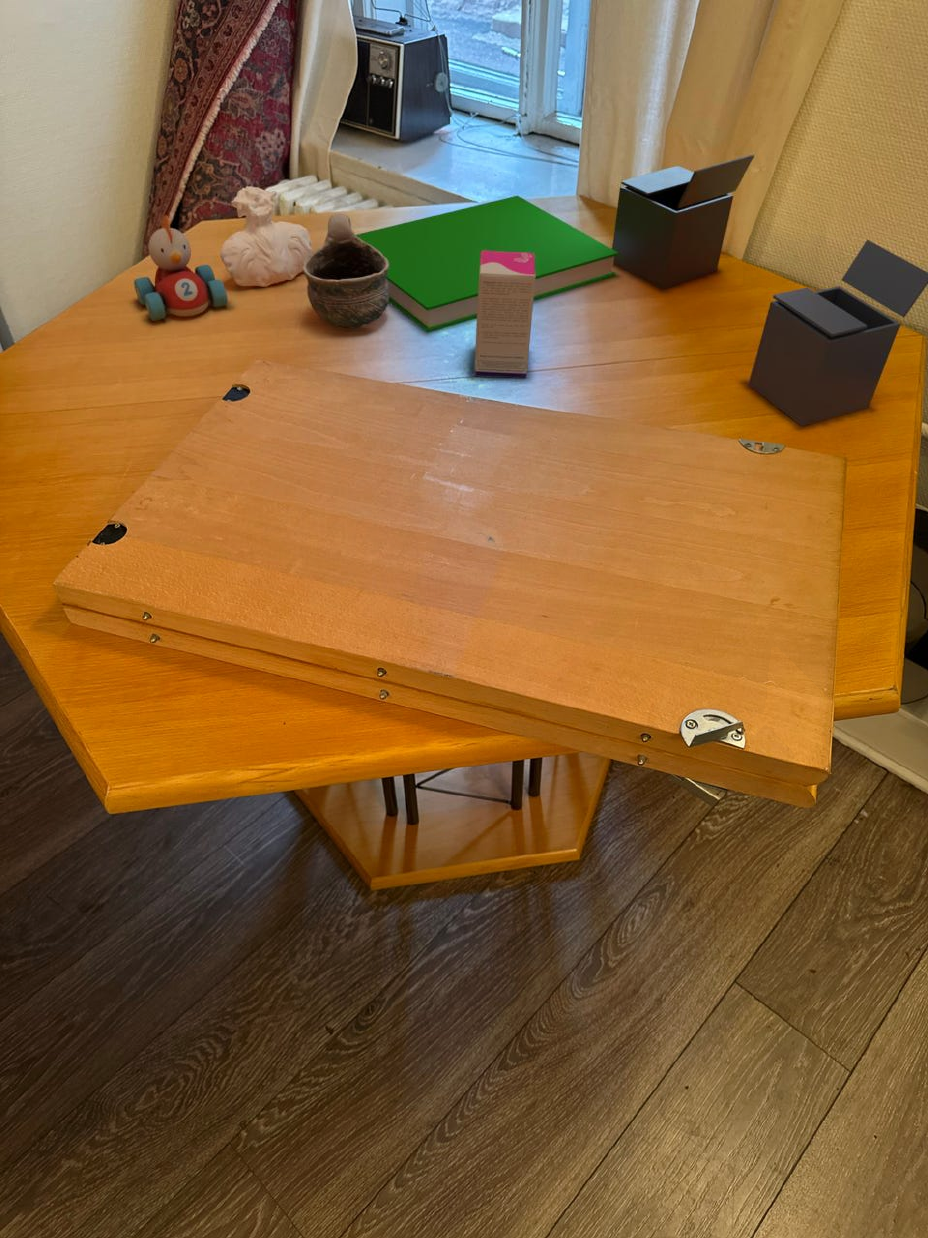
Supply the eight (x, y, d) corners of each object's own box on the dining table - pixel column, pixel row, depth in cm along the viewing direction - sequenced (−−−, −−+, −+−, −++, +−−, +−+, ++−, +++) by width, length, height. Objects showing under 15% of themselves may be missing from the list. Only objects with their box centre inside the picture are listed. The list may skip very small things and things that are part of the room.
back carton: (717, 270, 116) (735, 189, 108) (662, 289, 112) (677, 206, 104) (663, 244, 121) (677, 165, 114) (610, 261, 117) (620, 180, 110)
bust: (312, 280, 117) (278, 192, 115) (331, 261, 110) (296, 168, 108) (227, 303, 112) (190, 212, 110) (242, 285, 105) (203, 188, 103)
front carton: (812, 367, 99) (841, 279, 91) (868, 407, 93) (903, 316, 86) (748, 384, 96) (772, 294, 89) (801, 426, 90) (832, 334, 83)
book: (615, 275, 114) (618, 252, 112) (427, 332, 103) (427, 307, 101) (513, 215, 127) (515, 194, 125) (338, 260, 116) (335, 237, 114)
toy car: (155, 328, 103) (133, 242, 96) (136, 297, 108) (114, 213, 101) (232, 311, 106) (216, 226, 99) (209, 281, 111) (193, 199, 104)
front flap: (841, 279, 91) (842, 280, 92) (902, 316, 86) (904, 317, 86) (867, 239, 89) (868, 239, 89) (932, 274, 84) (933, 275, 84)
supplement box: (528, 378, 96) (535, 275, 88) (473, 376, 96) (476, 273, 88) (528, 351, 100) (535, 250, 92) (475, 350, 100) (477, 248, 92)
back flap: (734, 189, 108) (735, 190, 108) (677, 206, 104) (678, 208, 104) (753, 153, 104) (754, 155, 104) (694, 170, 100) (696, 172, 100)
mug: (318, 345, 101) (308, 257, 94) (296, 296, 109) (285, 212, 102) (400, 332, 103) (397, 246, 96) (372, 286, 111) (367, 203, 104)
